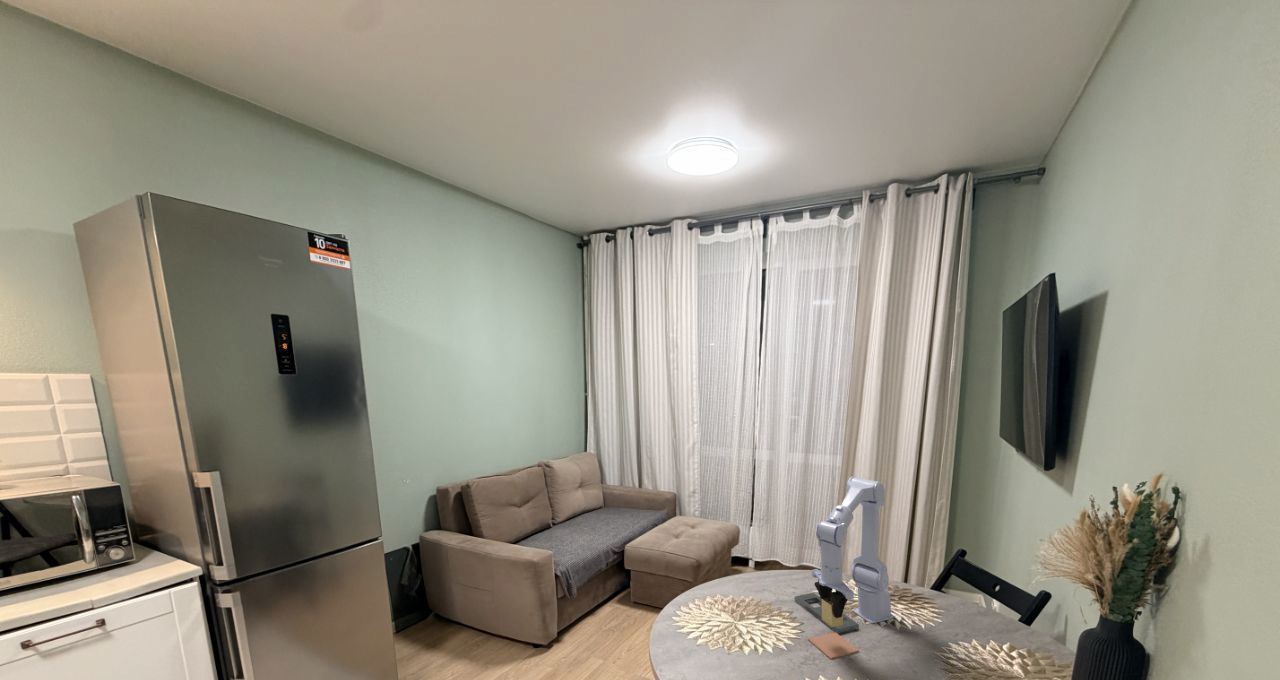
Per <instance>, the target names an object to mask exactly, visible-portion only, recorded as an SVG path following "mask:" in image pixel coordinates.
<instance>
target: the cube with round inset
mask: <svg viewBox="0 0 1280 680" xmlns="http://www.w3.org/2000/svg"><path fill="white" fill-rule="evenodd" d="M843 614H844V613H843ZM843 614H842V617H840V618H835V616H834V610H833V602H832V599H831V597H827V598H822V620H823V621H824V622H826V623H827V624H828V625H830V626H831V627H835V626H840V625H843Z"/></svg>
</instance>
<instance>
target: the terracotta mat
mask: <svg viewBox="0 0 1280 680" xmlns="http://www.w3.org/2000/svg"><path fill="white" fill-rule="evenodd" d="M808 641H809V642H810V643H811V644H812V646H815V648H817V649H818V650H819V651H820V652H822V653H823V655H825V656H826V657H827V658H828V659H830V660H833V659H836V658H841V657H845V656H848V655H852V654H856V653H859V652H860V650H859V649H858V648H857V647H855V646H854V645H853V644H852V643H850V642H849V641H848V640H846V639H845V638H844V637H842V636H841V634H837V633H836V632H834V631H833V632H831V633H827V634H822V635H819V636H814V637H809V638H808Z"/></svg>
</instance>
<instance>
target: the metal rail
mask: <svg viewBox="0 0 1280 680" xmlns="http://www.w3.org/2000/svg"><path fill="white" fill-rule="evenodd" d="M794 601H795V603H796V604H797V605H800V607H802V608H804V609H805V610H806V611H807V612H809V613H810V614H811V615H812V616H814V618H815V619H818V621H820V622H821V623H823V624H824V625H825V626H827V627H828V628H829V629H830V630H832V631H833V633H834V632H836V633H837V634H838V635H841V634H844V633H845V634H846V633H848V632H853V631H857V630H860V629H859V628H860V627H859V623H858V622H856V621H855V620H853V619H852V618H851V617H850V616H848V615H846V614H845V613H843V625H840V626H835V627H831V626H830V625H828V624H827V623H826V622H824V621H823V620H822V602H821V598H820V595H819V594H818V595H817V594H816V593H815V592H811V593H810V592H809V593H805V594H800V595H796V596H794ZM813 603H817V604H818V605H820V606H818V607H814V606H812V605H811V604H813Z"/></svg>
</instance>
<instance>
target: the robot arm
mask: <svg viewBox="0 0 1280 680" xmlns="http://www.w3.org/2000/svg"><path fill="white" fill-rule="evenodd" d="M846 491H847V493H846V495H845V497H844V499H843V500H842V503H841V504H838V505H835V506H834V508H833V509H832V511H831V512H830V513H829V515H828V516H827V518H826V519H825V520H822V521H820V522H819V523H818V525H817V526H816V532H815V534H816V539H817V542H818V547H820V569H818V568H815V569H811V577H812V578H814V579H815V578H816V579H817V581H816V582H814V586H815V588H816V590H817V592H818V596H819V597H820V598H821V602H822V598H827V597H831V599H832V602H833V610H834V616H835V618H840V617H842V614H844V610H845V607H846V604H847V602H848V601H849V600H854V598H855V597H854V596H855V595H854V594H855V593H854V591H853V590H852V589H850V587H849V586H848V585H847V584H846V583H845V581H843V550H842V549H843V548H842V547H843V545H844V544H845V541H846V536H847V532H848V531H847V529H848V528H849V526H850V525H851V523H852V521H853V520H854V514H853V513H854V511H855V510H856V509H857V508H858V507H859V505H861V506H862V514H861V515H862V519H861V520H862V521H861V547H860V549H861V550H860V551H861V552H860V554H859V555H857V556H855V557H854V558H853V559H852V560H853V561H852V566H851V572H850V575H851V578H852V580H853V582H855V585H856V586H857V604H858V607H856V608H852V609H851V611H852V612H853V613H855V614H856V615H858V616H859V617H861V618H862V619H864V620H865V621H867V622H868V623H869V624H876V623H880V622H884V621H889V620H893V619H894V616H892V603H891V595H890V592H889V590H888V586H889V581H890V580H889V573H888V566H887V565H886V564H885V562H883V561H882V560H881V558H879V532H880V531H879V530H880V529H879V528H880V523H879V522H880V508H881V507H884V506H885V493H886V492H885V486H884V485H883V483H882V482H881V481H880V480H879V481H878V480H871V479H865V478H860V477H856V476H853V475H852V476H850V477H849V478H848V480H847V483H846ZM833 590H835V591H833Z"/></svg>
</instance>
